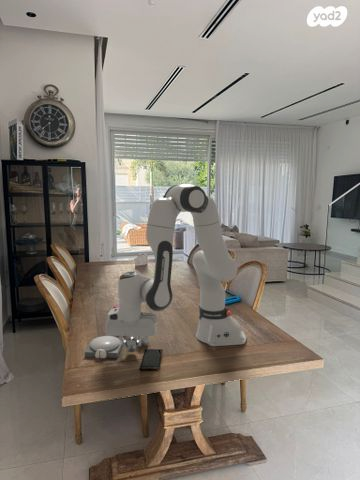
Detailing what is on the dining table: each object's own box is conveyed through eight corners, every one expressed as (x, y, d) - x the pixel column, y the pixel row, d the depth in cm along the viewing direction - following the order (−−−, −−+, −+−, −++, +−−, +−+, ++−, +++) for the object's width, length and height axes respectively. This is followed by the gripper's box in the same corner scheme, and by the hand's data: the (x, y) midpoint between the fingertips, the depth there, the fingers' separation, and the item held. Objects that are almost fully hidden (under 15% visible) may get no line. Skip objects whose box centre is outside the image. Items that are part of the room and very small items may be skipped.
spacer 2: (148, 342, 142) (148, 331, 141) (147, 347, 138) (147, 336, 137) (138, 342, 142) (138, 331, 141) (137, 346, 138) (136, 335, 137)
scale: (124, 344, 142) (123, 334, 141) (117, 361, 128) (116, 350, 128) (94, 343, 142) (94, 334, 141) (84, 360, 129) (83, 349, 128)
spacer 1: (138, 346, 133) (137, 335, 133) (136, 352, 129) (135, 340, 128) (127, 346, 134) (127, 335, 133) (125, 352, 129) (124, 340, 128)
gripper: (157, 309, 131) (158, 341, 134) (107, 309, 132) (108, 341, 134) (155, 315, 125) (156, 349, 128) (102, 315, 126) (104, 349, 128)
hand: (131, 345), depth 131 cm, fingers closed on spacer 1, 4 cm apart
